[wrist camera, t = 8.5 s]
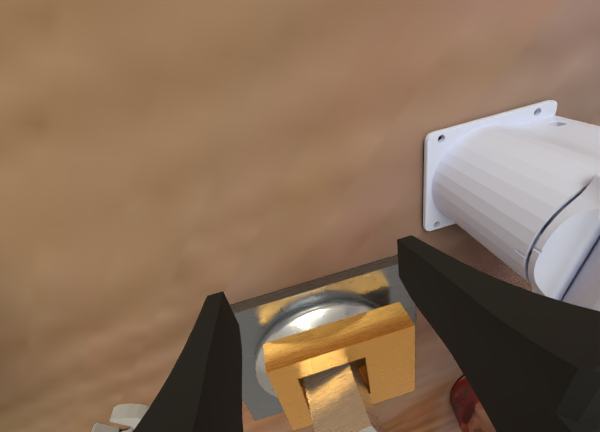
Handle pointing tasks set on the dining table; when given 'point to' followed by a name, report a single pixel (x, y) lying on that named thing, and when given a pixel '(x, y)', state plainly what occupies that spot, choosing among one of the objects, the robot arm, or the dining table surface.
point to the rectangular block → (340, 401)
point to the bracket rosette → (327, 338)
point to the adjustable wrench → (123, 417)
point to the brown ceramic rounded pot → (469, 409)
